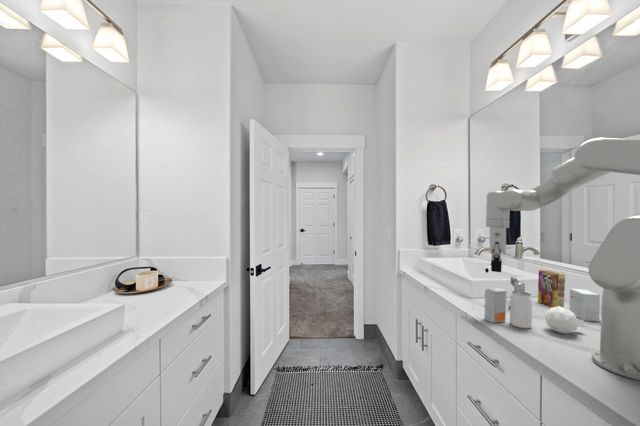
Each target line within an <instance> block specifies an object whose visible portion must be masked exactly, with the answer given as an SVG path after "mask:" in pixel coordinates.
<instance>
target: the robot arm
mask: <svg viewBox="0 0 640 426" xmlns="http://www.w3.org/2000/svg"><path fill="white" fill-rule="evenodd" d="M573 156H574V157H572V158H570V159H568V160H566V161H564V162H562V163H560V164H559V165H556V166H555V167H554V168H552V170H551V172H550V174H551V176H550V177H549V178H548V179H547V180H546V181H545V182H543V183H541V184H540V185H537V186H535V187H533V188H531V189H510V190H504V191H502V190H498V191H495V190H494V191H489V192H487V194H486V212H485V213H486V215H485V216H486V218H485V219H486V220H485V227H486V228H489V250H490V254H492V257H491V260H490V261H491V262H490V263H491V266H490V267H491V268H490V269H491V272H495V273H502V268H503V267H502V266H503V264H502V263H503V262H502V254H503V255H506V252H507V251H506V250H507V229H509V228H510V214H511V213H510V212H511V211H513V212H514V211H516V212H519V211H520V212H523V211H525V212H526V211H527V212H531V211H534V210H535V211H536V210H539V209H541V208H544V207H545V206H547V205H550V204H551V203H554V202H556V201H558V200H559V199H561V198H562V197H564V196H565V195H568V194H569V193H570V192H571V191H572V190H575V189H576V188H579V187H581V186H583V185H585V184H588V183H590V182H592V181H594V180H596V179H599V178H601V177H603V176H605V175H607V174H609V173H617V174H626V175H627V174H628V175H636V176H640V138H614V137H613V138H612V137H611V138H610V137H596V138H592V139H588V140H586V141H585V142H583V143H581V144H580V145H579V146H578V147H577V149H576V150H575V151H574V154H573ZM588 274H589V277H590V279H591V280H592V281H593V283H594V284H596V285H597V286H598V287H600V288H603V290H602V294H601V295H602V296H601V310H600V311H601V312H600V313H601V315H600V343H599V346H600V348H599V351H597V352H594V353H592V354H591V355H592V356H591V359H592V361H593V362H594V363H595V364H597V365H598V366H599V367H602V368H603V369H605V370H607V371H609V372H612V373H613V374H615V375H616V374H617V375H620V376H622V377H626V378H630V379H632V380H637V381H640V212H639V213H638V214H637V215H633V216H632V215H631V216H628V217H625V218H623V219H621V220H619V221H618V222H617V223H616V224H614V225H613V226H612V227H611V229H610V230H609V231H608V233H607V235H606V236H605V237H604V239H603V241H602V243H601V244H600V245H599V247H598V249H597V250H596V252H595V253H594V255H593V256H592V259H591V260H590V262H589V264H588Z"/></svg>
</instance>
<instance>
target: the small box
mask: <svg viewBox="0 0 640 426" xmlns="http://www.w3.org/2000/svg"><path fill="white" fill-rule="evenodd" d="M600 303H601V302H600V294H598V293H595V292H592V291H590V290H587V289H582V288H581V289H580V288H570V289H569V310H570V311H571V312H573V313H574V314H575V316H576V318H577V319H580V320H584V321H585V322H586V321H589V322H600V313H601V312H600V311H601V310H600Z"/></svg>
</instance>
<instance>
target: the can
mask: <svg viewBox="0 0 640 426" xmlns="http://www.w3.org/2000/svg"><path fill="white" fill-rule="evenodd" d="M509 306H510V309H509V312H510V313H509V323H510V324H511V325H512V326H513V327H516V328H519V329H525V330H529V329H531V328H532V325H533V324H532V322H533V321H532V319H533V317H532V316H533V298H532V294H531V293H530V292H522V291H514V290H513V291H511V294H510V305H509Z"/></svg>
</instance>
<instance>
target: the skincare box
mask: <svg viewBox="0 0 640 426" xmlns="http://www.w3.org/2000/svg"><path fill="white" fill-rule="evenodd" d="M484 290H485V292H484V293H485V295H484V316H483V317H484V320H486V321H488V322H491V323H493V324H494V323H504V322H506V315H507V313H506V312H507V310H506V309H507V292H508V291H507V290H505V289H501V288H500V287H495V288H494V287H490V288H485V289H484Z"/></svg>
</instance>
